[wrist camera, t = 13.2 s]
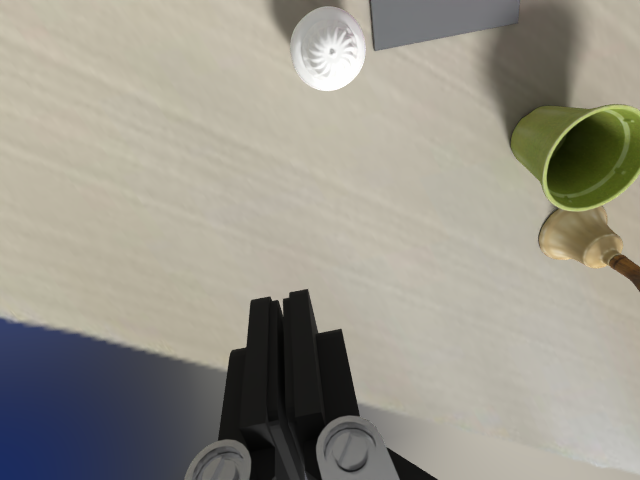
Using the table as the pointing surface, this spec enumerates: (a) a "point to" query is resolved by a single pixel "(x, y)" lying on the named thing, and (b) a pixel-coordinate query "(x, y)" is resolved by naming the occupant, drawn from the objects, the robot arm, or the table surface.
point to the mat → (436, 19)
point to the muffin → (327, 48)
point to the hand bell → (586, 241)
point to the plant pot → (580, 152)
